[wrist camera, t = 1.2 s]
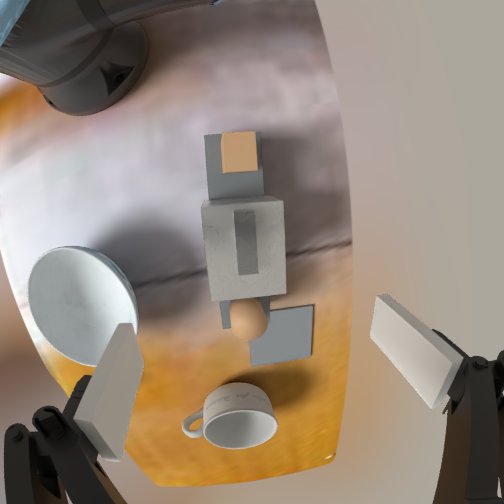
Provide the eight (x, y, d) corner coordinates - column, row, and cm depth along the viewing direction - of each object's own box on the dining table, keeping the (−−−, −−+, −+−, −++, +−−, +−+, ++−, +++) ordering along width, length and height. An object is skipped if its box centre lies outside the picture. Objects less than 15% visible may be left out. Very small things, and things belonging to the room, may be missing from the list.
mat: (246, 313, 36) (247, 314, 36) (311, 304, 37) (312, 305, 37) (251, 364, 39) (251, 366, 38) (309, 355, 40) (310, 357, 39)
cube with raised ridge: (203, 200, 27) (200, 208, 20) (269, 195, 27) (286, 201, 21) (211, 276, 29) (211, 307, 22) (272, 270, 30) (289, 298, 23)
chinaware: (48, 233, 30) (16, 247, 22) (147, 231, 32) (128, 247, 24) (67, 330, 34) (45, 358, 26) (157, 337, 36) (147, 372, 28)
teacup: (272, 371, 40) (283, 407, 32) (265, 415, 43) (273, 449, 35) (180, 371, 38) (176, 409, 30) (186, 416, 41) (184, 451, 33)
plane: (206, 141, 30) (200, 121, 18) (253, 138, 30) (274, 118, 19) (221, 309, 36) (226, 366, 24) (263, 304, 36) (284, 359, 25)
